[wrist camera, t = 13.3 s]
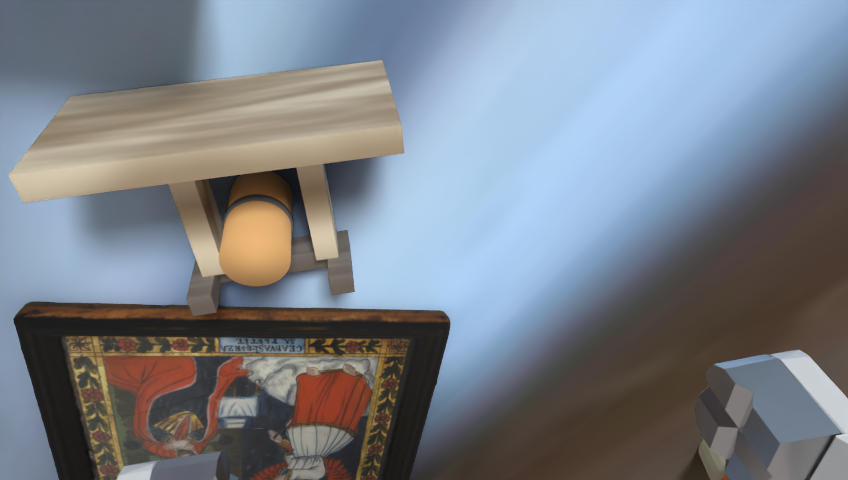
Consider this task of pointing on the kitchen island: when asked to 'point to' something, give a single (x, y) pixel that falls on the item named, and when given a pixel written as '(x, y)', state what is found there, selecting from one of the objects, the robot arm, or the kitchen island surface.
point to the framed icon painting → (233, 387)
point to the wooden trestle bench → (222, 153)
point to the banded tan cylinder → (257, 229)
